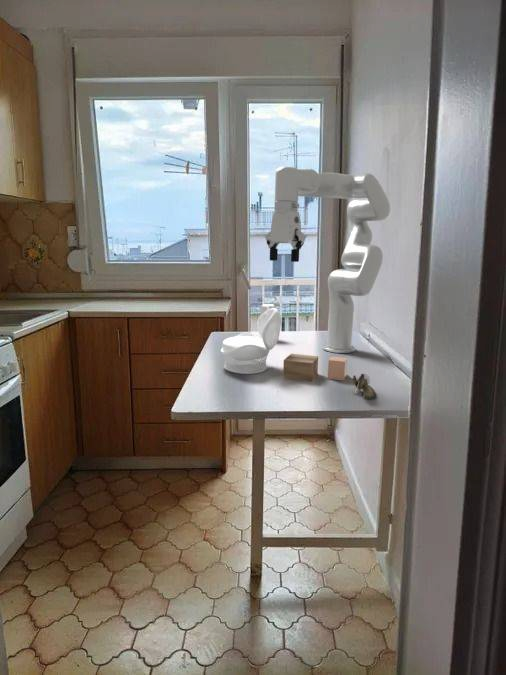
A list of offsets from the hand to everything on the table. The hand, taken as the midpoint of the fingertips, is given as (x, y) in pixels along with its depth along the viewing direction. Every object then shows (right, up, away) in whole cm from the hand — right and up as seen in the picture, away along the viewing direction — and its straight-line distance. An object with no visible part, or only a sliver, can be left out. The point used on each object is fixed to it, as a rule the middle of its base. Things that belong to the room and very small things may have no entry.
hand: (283, 261), depth 149 cm
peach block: (+16, -38, -8) cm, 42 cm away
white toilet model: (-11, -36, +1) cm, 38 cm away
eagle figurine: (+20, -42, -24) cm, 52 cm away
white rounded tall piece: (-4, -27, +45) cm, 53 cm away
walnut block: (+5, -38, -8) cm, 39 cm away
